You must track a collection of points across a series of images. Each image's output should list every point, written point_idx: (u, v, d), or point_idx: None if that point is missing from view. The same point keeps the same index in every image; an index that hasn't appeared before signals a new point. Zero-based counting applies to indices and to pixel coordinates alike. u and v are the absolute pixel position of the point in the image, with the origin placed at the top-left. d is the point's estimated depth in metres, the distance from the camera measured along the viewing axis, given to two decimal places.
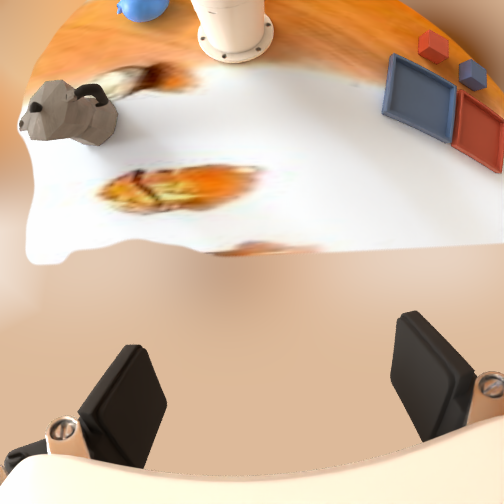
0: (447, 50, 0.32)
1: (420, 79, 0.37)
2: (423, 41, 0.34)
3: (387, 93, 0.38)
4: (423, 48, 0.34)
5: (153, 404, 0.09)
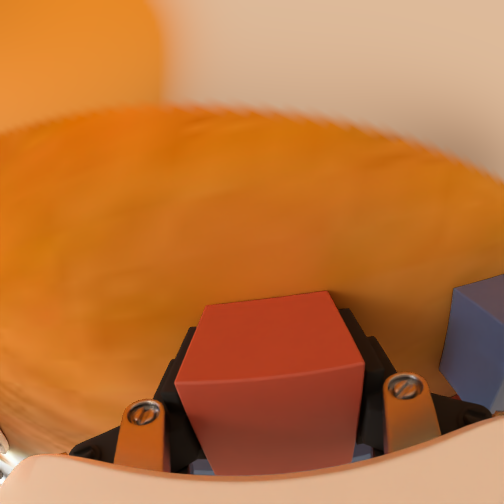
0: (347, 437, 0.06)
1: None
2: None
3: None
4: None
5: None
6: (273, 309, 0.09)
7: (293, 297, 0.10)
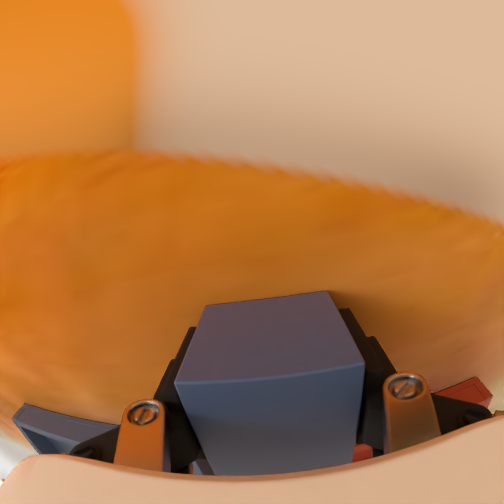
0: None
1: None
2: None
3: None
4: None
5: None
6: None
7: None
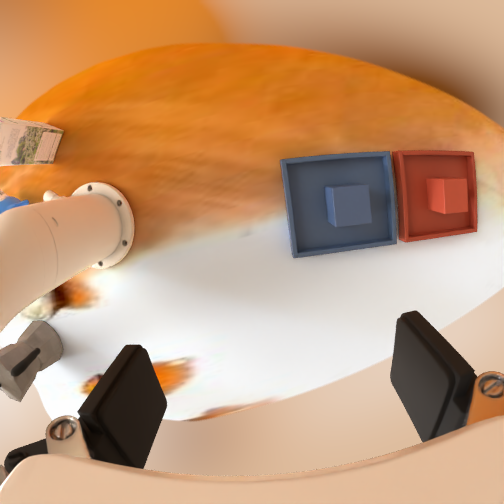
0: (466, 199, 0.30)
1: (333, 171, 0.34)
2: (435, 194, 0.32)
3: (289, 229, 0.35)
4: (436, 208, 0.32)
5: (153, 404, 0.09)
6: None
7: (443, 177, 0.33)
